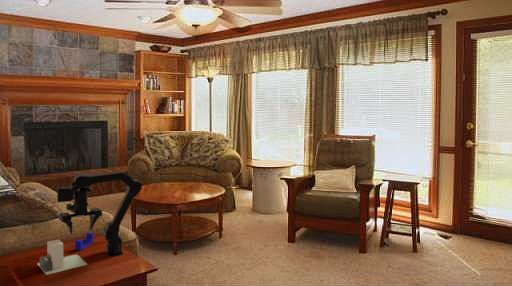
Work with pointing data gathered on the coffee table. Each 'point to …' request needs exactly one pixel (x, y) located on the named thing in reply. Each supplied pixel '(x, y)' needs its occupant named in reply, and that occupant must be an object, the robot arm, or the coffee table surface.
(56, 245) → the plug housing
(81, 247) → the cable clip
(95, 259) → the coffee table surface
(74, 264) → the board
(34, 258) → the coffee table surface
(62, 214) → the robot arm
